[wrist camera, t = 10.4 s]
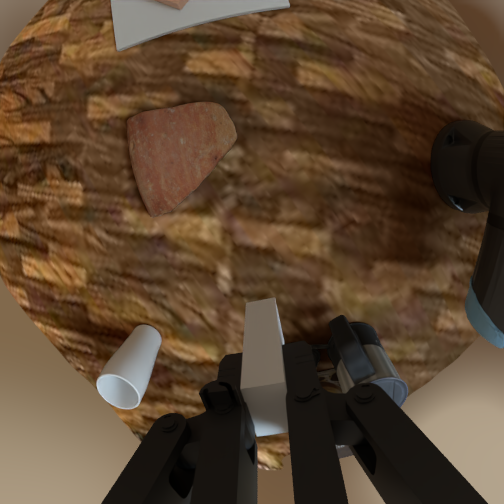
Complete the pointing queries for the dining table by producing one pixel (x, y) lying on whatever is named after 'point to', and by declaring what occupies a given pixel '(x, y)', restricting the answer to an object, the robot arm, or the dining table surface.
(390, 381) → the milk frother
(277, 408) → the robot arm
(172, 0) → the terracotta tile
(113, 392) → the drinking glass
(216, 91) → the dining table surface
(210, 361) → the dining table surface
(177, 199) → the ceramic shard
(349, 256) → the dining table surface
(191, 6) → the grey mat
